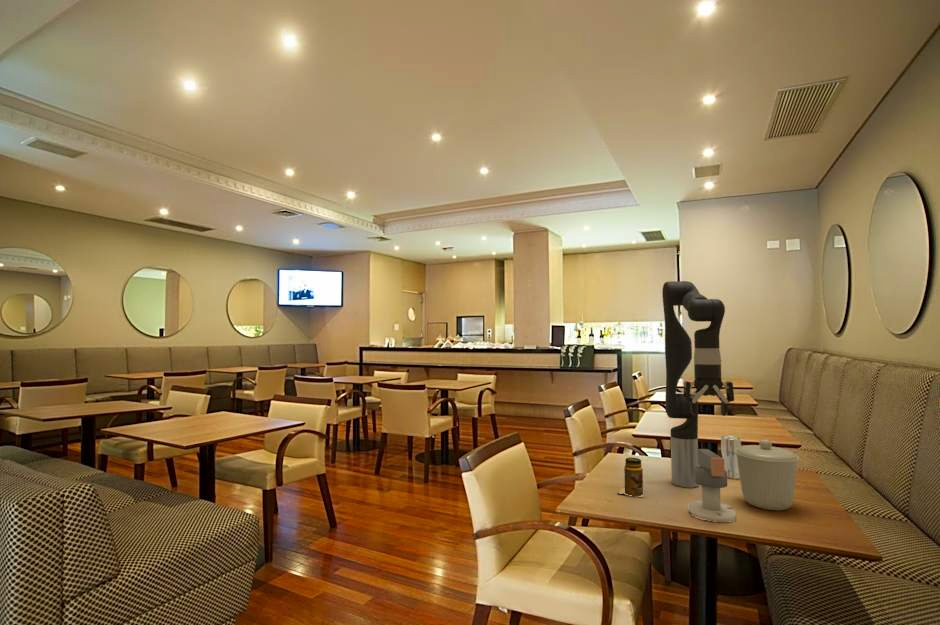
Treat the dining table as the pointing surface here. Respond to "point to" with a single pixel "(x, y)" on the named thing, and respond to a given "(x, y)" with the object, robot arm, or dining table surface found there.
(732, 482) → the dining table surface
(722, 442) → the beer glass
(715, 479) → the twist cap
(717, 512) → the post base
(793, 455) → the canister
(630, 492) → the condiment
